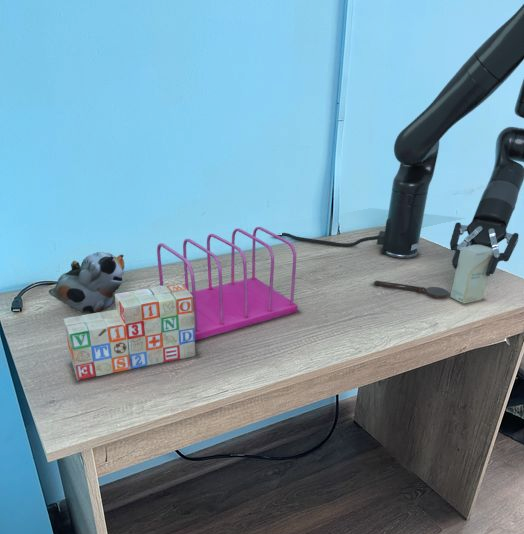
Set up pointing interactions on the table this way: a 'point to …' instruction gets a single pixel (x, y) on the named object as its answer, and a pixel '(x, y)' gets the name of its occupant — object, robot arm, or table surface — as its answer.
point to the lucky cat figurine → (90, 282)
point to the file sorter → (234, 291)
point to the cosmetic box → (471, 273)
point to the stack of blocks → (133, 332)
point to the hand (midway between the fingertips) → (471, 270)
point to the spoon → (416, 289)
